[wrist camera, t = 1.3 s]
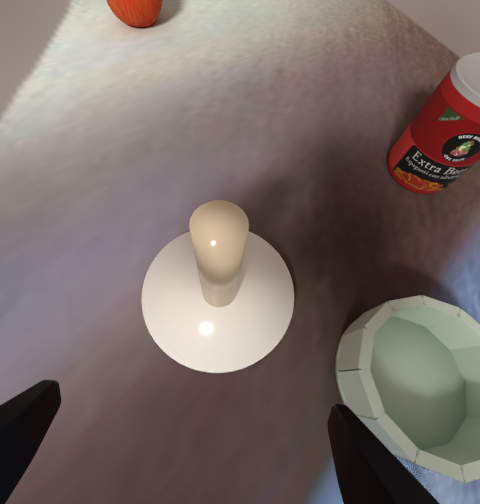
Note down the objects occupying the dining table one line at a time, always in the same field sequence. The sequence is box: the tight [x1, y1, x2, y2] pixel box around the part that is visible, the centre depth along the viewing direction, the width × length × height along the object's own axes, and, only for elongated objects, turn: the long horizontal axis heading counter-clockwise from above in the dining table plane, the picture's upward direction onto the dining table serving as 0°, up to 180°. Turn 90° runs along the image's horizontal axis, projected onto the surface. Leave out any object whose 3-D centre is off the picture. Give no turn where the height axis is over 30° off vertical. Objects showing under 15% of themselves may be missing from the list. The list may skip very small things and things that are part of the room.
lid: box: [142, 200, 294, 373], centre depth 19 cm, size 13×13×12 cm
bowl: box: [335, 295, 480, 483], centre depth 20 cm, size 11×11×4 cm
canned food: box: [387, 53, 480, 194], centre depth 28 cm, size 8×8×11 cm
